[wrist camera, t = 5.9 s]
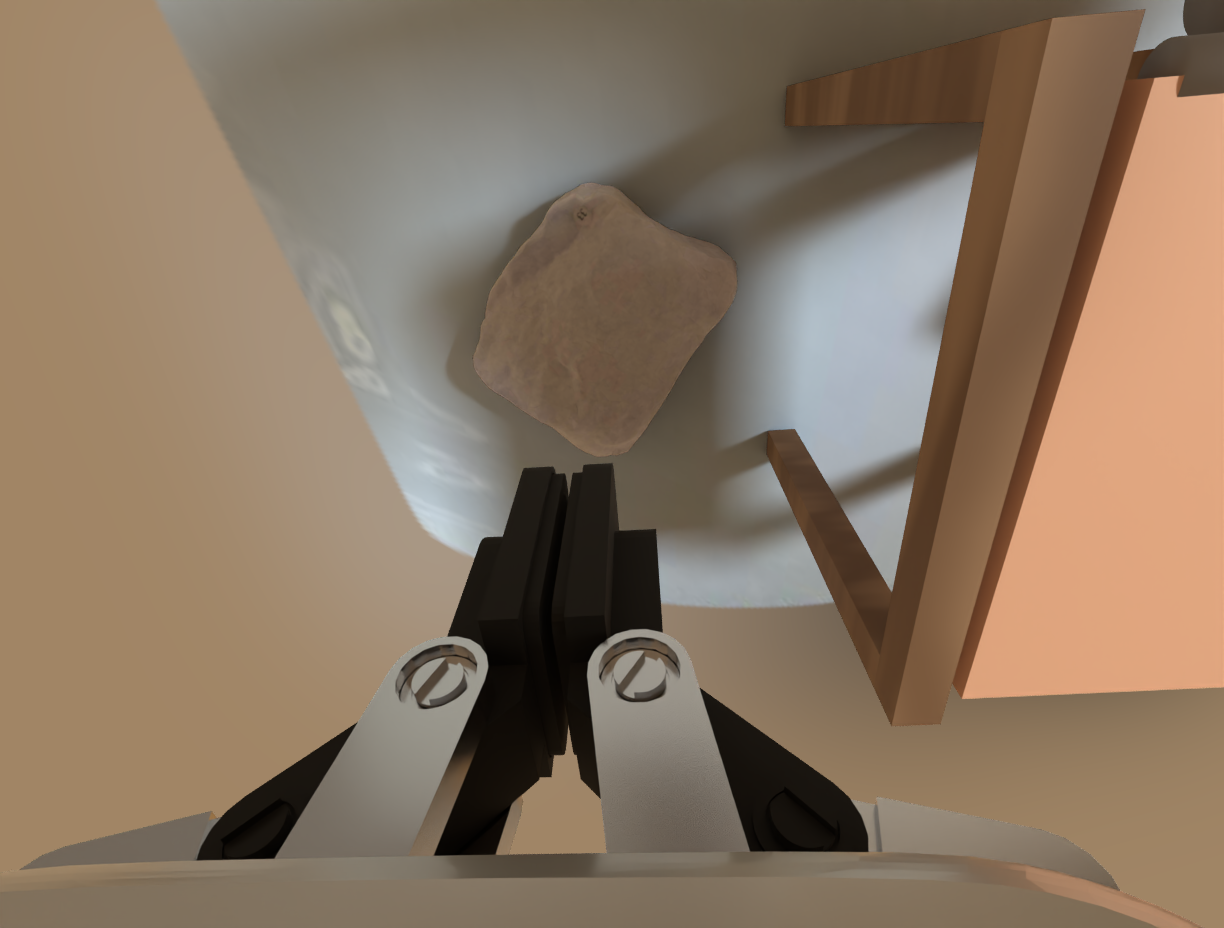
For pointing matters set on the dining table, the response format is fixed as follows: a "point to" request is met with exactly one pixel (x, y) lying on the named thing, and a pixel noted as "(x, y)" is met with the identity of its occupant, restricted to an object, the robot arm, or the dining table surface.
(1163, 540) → the trapdoor
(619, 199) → the stone block
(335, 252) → the dining table surface
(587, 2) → the dining table surface
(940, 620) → the stand
